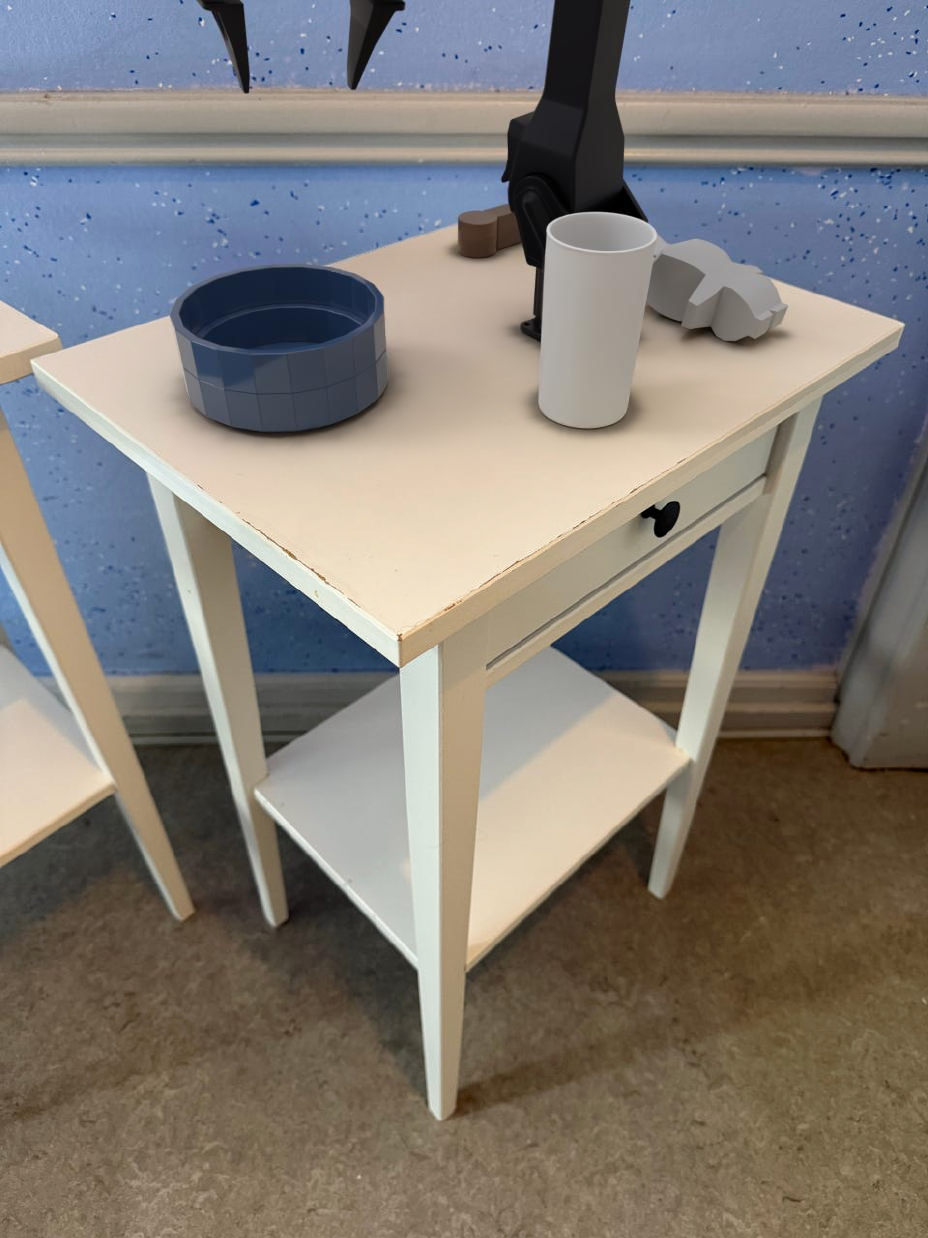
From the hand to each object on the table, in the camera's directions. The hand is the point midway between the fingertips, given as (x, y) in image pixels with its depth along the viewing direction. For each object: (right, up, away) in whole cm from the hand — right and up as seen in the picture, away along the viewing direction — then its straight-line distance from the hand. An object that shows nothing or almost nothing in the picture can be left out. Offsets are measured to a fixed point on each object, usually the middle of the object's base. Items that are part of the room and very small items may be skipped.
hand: (299, 89), depth 76 cm
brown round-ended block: (+17, -9, +10) cm, 22 cm away
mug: (+23, -28, -11) cm, 38 cm away
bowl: (+1, -27, -10) cm, 29 cm away
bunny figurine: (+32, -19, -1) cm, 37 cm away
